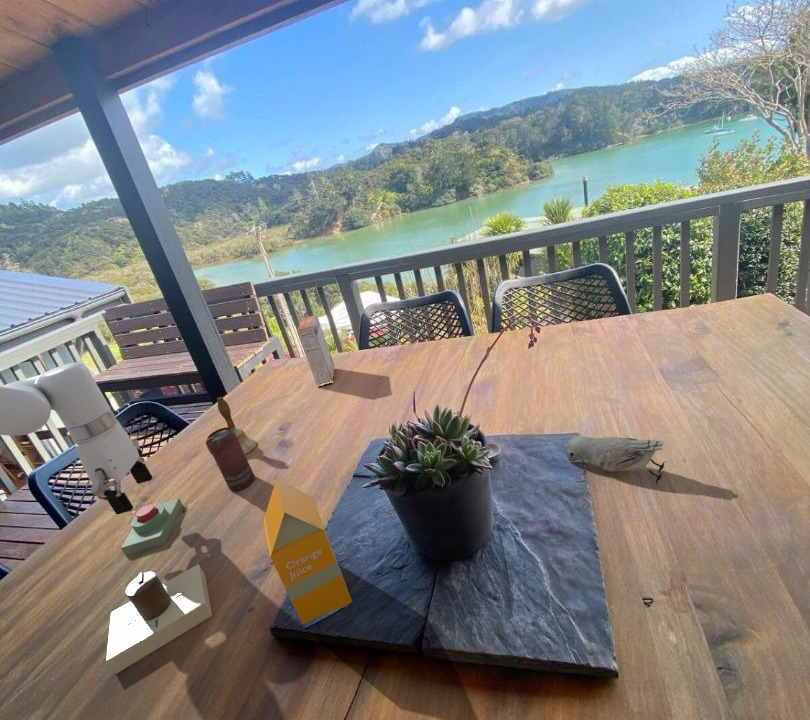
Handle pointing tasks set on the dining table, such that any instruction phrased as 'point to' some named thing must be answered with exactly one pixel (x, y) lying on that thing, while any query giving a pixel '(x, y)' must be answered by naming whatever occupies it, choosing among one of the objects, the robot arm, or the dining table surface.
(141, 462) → the robot arm
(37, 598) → the dining table surface
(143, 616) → the knob
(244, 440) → the hand bell
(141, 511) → the button
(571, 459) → the decorative bird
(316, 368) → the cracker box
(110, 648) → the panel
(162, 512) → the button block
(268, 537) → the orange juice
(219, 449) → the can
